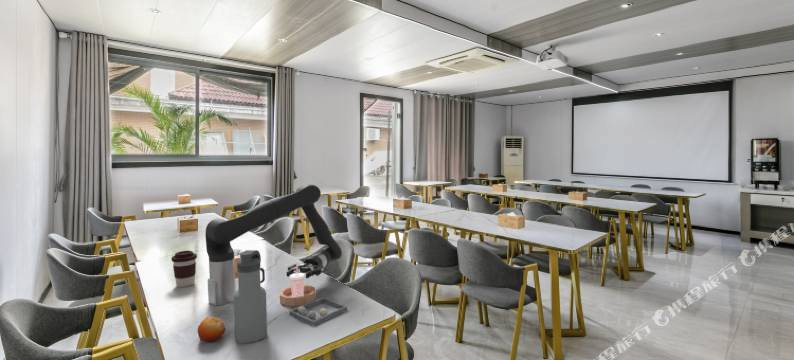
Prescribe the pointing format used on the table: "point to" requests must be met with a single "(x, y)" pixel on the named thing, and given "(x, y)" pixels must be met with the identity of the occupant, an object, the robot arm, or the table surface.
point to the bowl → (300, 300)
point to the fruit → (211, 329)
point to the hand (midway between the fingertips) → (297, 275)
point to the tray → (321, 319)
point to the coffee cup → (184, 268)
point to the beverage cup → (297, 283)
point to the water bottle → (250, 299)
